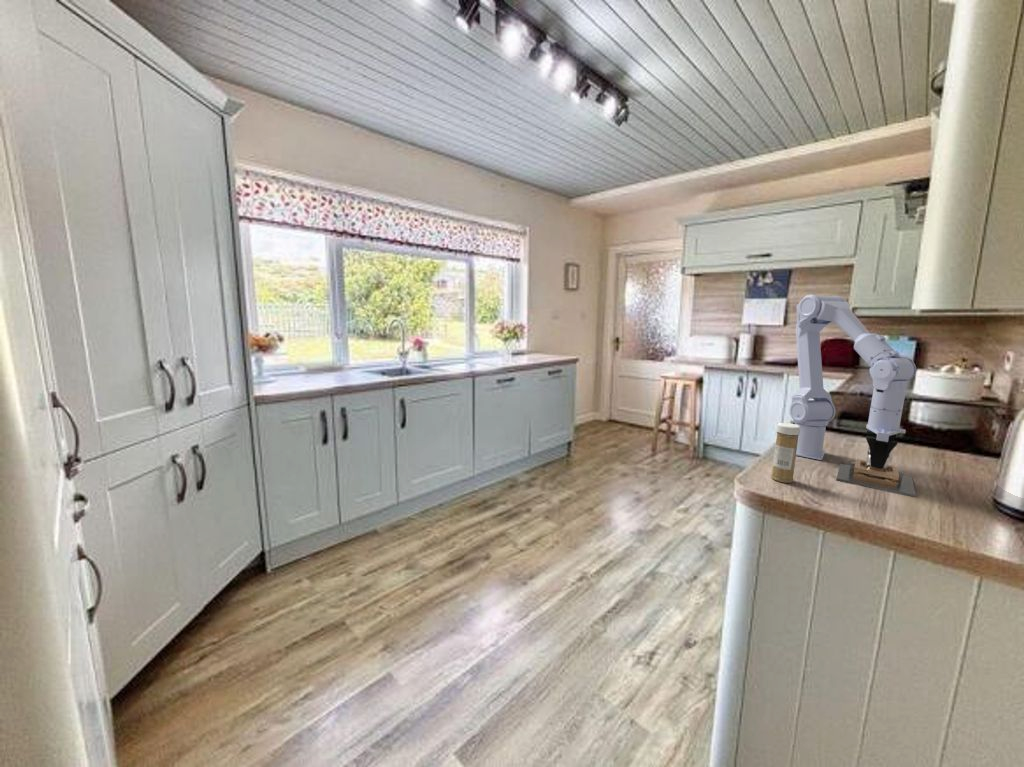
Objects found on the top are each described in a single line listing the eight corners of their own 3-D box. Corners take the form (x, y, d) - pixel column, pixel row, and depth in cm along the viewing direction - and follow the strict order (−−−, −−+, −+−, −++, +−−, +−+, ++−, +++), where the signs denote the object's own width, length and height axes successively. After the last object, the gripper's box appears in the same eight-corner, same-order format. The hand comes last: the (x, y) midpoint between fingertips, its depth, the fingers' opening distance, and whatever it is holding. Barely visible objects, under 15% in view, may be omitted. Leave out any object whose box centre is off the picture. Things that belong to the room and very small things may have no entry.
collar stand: (839, 465, 116) (841, 453, 115) (911, 479, 107) (913, 466, 107) (836, 480, 105) (838, 467, 104) (915, 497, 96) (917, 483, 96)
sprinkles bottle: (796, 481, 104) (804, 425, 101) (787, 485, 101) (794, 428, 99) (776, 474, 107) (783, 421, 105) (766, 478, 105) (773, 423, 103)
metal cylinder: (863, 473, 109) (867, 446, 108) (884, 477, 106) (889, 449, 105) (863, 477, 106) (868, 449, 104) (885, 482, 103) (890, 453, 102)
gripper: (910, 416, 95) (900, 476, 97) (907, 406, 106) (897, 460, 108) (869, 411, 99) (859, 468, 102) (869, 402, 111) (861, 454, 113)
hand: (876, 464), depth 105 cm, fingers open, 5 cm apart
